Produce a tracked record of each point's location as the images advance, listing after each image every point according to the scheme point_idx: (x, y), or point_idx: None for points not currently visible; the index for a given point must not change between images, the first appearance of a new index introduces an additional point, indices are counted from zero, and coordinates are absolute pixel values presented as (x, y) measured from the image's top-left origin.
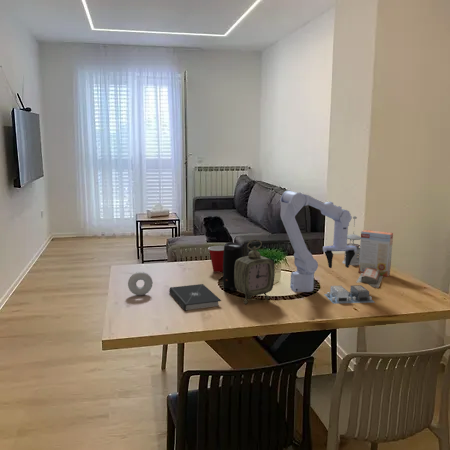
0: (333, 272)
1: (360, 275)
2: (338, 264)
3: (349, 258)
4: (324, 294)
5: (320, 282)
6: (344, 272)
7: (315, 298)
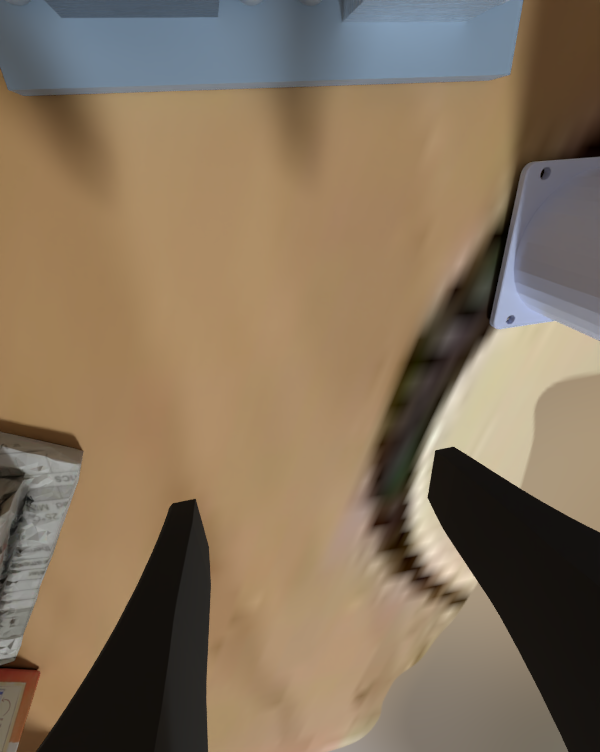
0: (215, 634)
1: (25, 617)
2: None
3: (151, 677)
4: (510, 61)
5: (359, 462)
6: None
7: (584, 32)
